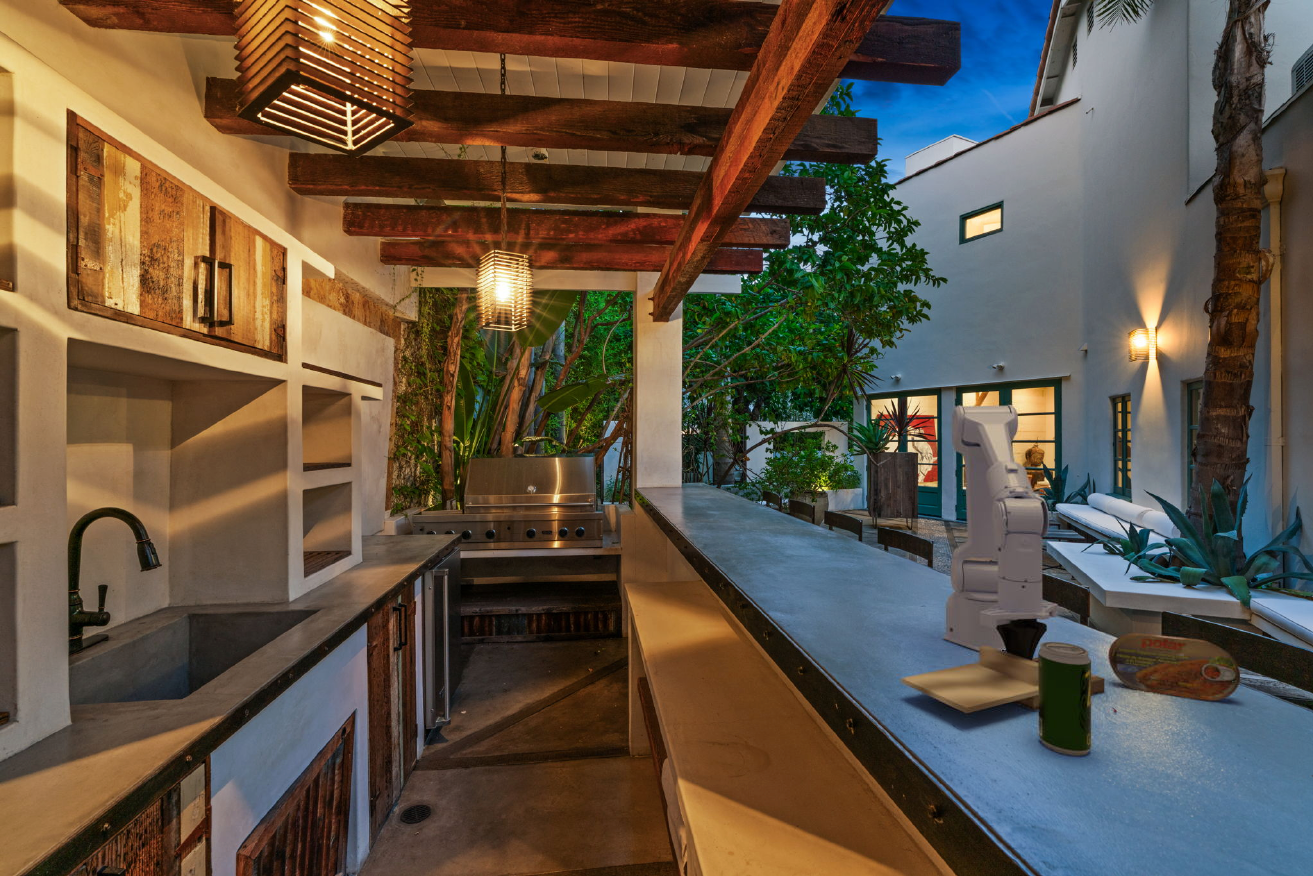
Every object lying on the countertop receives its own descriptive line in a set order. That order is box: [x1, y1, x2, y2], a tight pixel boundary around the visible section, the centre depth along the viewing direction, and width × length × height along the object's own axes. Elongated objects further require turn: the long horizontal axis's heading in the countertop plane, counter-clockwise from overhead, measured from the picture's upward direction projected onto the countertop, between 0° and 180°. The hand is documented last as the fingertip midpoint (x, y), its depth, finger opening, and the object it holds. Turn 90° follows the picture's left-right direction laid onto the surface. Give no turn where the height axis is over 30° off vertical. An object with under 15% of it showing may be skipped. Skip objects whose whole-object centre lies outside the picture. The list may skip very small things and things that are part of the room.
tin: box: [1108, 632, 1241, 702], centre depth 91 cm, size 15×3×8 cm, turn 62°
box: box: [1012, 657, 1106, 712], centre depth 92 cm, size 10×16×2 cm, turn 114°
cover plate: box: [901, 645, 1039, 714], centre depth 87 cm, size 11×17×4 cm, turn 114°
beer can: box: [1037, 641, 1092, 757], centre depth 75 cm, size 5×5×12 cm
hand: (1020, 669), depth 91 cm, fingers closed
